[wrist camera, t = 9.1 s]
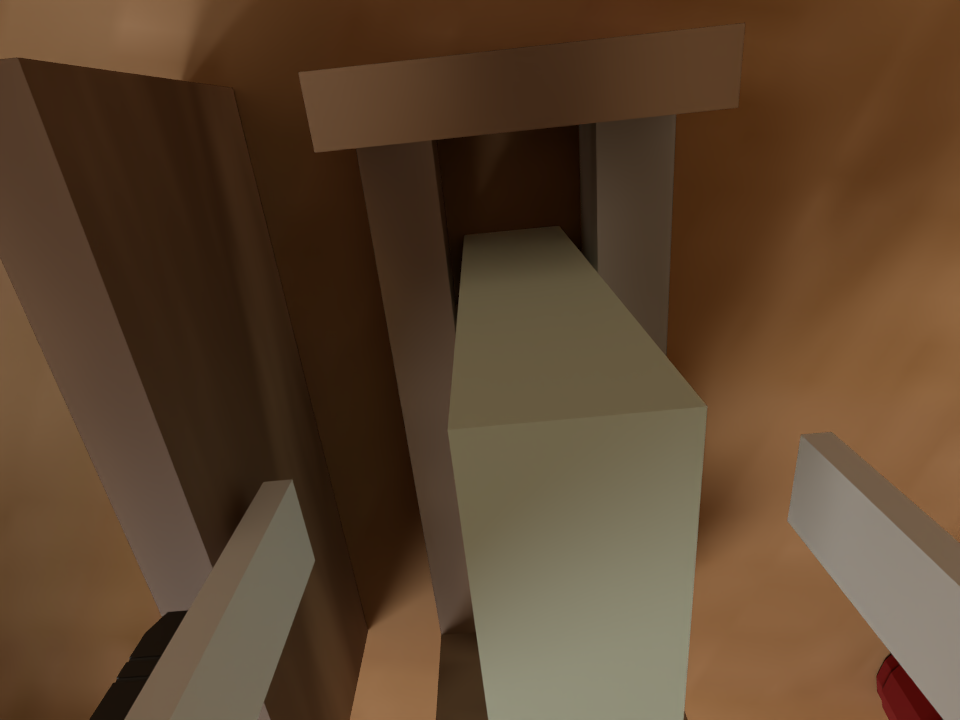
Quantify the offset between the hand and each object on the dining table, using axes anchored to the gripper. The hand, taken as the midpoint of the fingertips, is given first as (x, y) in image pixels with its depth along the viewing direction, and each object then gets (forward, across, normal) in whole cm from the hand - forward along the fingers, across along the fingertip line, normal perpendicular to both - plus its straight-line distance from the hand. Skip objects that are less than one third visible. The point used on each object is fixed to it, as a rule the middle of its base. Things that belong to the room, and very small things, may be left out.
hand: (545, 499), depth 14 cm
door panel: (+6, 0, 0) cm, 6 cm away
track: (+6, -3, 0) cm, 6 cm away
